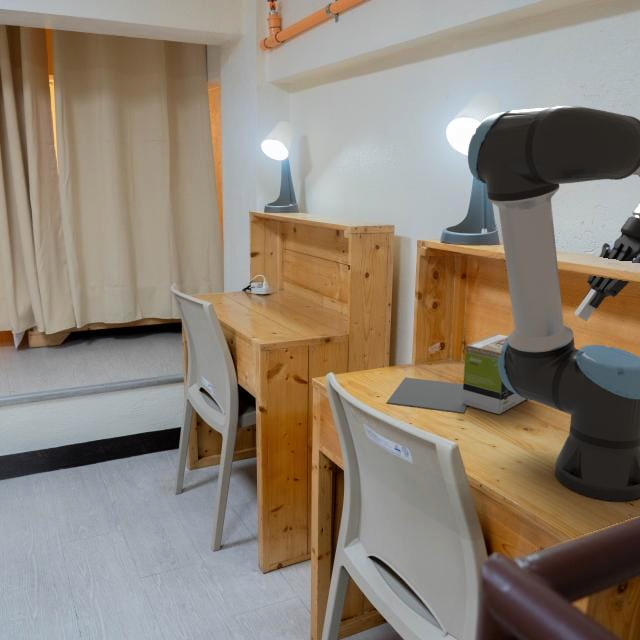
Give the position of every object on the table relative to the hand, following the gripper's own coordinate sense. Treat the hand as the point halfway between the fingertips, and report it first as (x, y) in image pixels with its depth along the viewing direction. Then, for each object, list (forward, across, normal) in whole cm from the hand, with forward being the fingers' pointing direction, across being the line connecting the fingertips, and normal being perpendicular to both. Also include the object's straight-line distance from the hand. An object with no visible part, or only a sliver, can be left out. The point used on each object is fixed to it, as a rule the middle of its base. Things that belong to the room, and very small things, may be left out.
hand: (580, 317), depth 137 cm
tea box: (+27, +7, 0) cm, 28 cm away
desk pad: (+34, +15, +10) cm, 39 cm away
